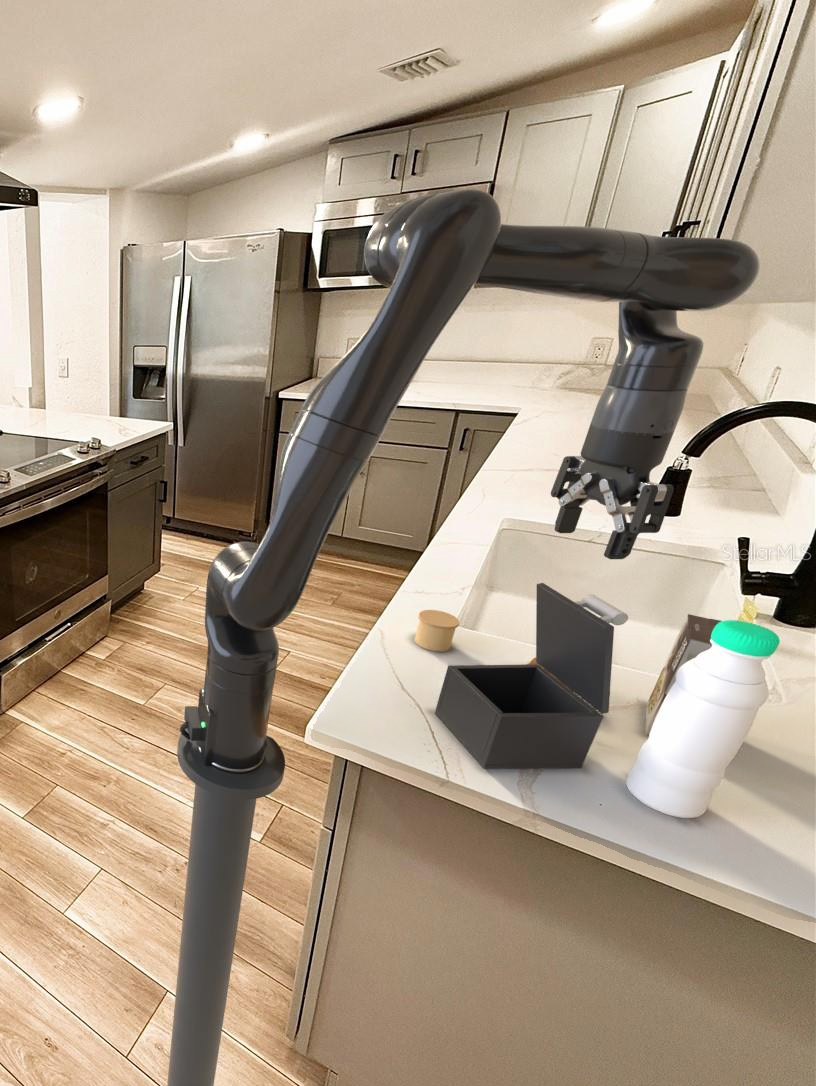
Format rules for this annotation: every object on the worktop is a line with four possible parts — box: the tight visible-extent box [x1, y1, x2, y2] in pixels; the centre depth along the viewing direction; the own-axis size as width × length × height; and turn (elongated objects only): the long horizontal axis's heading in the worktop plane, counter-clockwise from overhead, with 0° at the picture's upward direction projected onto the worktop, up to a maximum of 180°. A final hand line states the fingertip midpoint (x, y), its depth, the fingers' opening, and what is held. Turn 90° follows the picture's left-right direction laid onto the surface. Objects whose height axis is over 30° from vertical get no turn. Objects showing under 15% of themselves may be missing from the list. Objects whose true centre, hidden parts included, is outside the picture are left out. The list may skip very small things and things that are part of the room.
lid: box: [535, 582, 629, 715], centre depth 81 cm, size 13×12×5 cm
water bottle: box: [625, 619, 781, 819], centre depth 72 cm, size 7×7×25 cm
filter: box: [414, 609, 460, 653], centre depth 109 cm, size 6×6×5 cm
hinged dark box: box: [434, 663, 604, 770], centre depth 86 cm, size 13×12×9 cm
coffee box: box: [644, 613, 722, 736], centre depth 85 cm, size 9×6×16 cm
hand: (587, 544), depth 81 cm, fingers open, 8 cm apart
